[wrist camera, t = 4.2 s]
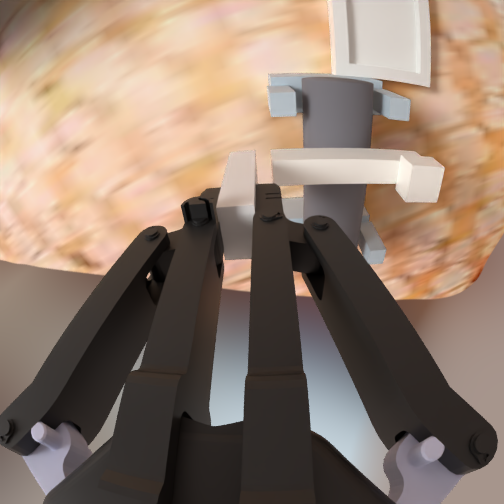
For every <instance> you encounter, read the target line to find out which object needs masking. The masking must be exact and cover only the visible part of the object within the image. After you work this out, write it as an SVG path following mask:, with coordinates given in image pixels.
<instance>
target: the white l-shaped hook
mask: <svg viewBox="0 0 504 504" xmlns="http://www.w3.org/2000/svg"><path fill="white" fill-rule="evenodd" d="M271 165H272V177H273V183H275V184H277V185H278V186H289V185H314V184H396V189H395V190H396V191H397V192H398V193H399V195H400V196H401V197H402V198H403V200H404V201H405V202H436V203H437V200H438V196H439V192H440V188H441V183H442V179H443V174H444V170H445V167H443V166H442V165H441V164H440V163H439V162H437V161H436V160H435V159H434V158H433V157H425V156H420V155H419V154H418V153H416V152H415V151H406V150H391V149H370V148H294V149H271Z"/></svg>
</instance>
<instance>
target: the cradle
mask: <svg viewBox="0 0 504 504" xmlns="http://www.w3.org/2000/svg"><path fill="white" fill-rule="evenodd" d="M268 77H269V86H267V92H268V105H269V110H270V114H271V117H282V116H297V114H296V113H303V105H302V81H301V79H302V78H305V77H338V78H349V79H356V80H362V81H367V82H371V83H373V84H374V89H373V115H381V114H382V115H383V116H385V117H387V118H388V119H393V120H403V121H409V115H410V102H411V100H410V99H408V98H405V97H403V96H400V95H398V94H395V93H393V92H390V91H388V90H384V89H382V81H380V80H376V79H373V78H366V77H355V76H340V75H334V74H320V73H284V74H268ZM282 204H283V211H284V214H285V216H286V218H287V219H289V220H291V221H293V222H297V223H302V224H303V204H304V197H302V198H282ZM369 217H370V215H369V213H368V212H367V210H366V208H365V206H364V208H363V215H362V222H361V228H360V234H359V240H358V244H359V247H360V249H361V251H362V254H363V256H364V258H365V260H366V261H367V262H368V264H381V263H383V261H384V257H385V253H386V248H385V246H384V244H383V242H382V240H381V238H380V236H379V235H378V233H377V231H376V229H375V227H374V225H373V223H372V222H369Z"/></svg>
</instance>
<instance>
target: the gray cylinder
mask: <svg viewBox="0 0 504 504" xmlns="http://www.w3.org/2000/svg"><path fill="white" fill-rule="evenodd" d="M301 81H302V105H303V146H304V148H370V146H371V133H372V116H373V89H374V84H373V83H371V82H367V81H362V80H356V79H349V78H338V77H305V78H302V79H301ZM366 186H367V184H314V185H304V204H303V224H304V221H305V220H306V219H307V218H308V217H311V216H315V215H322V216H327V217H329V218H332V219H333V220H334V221H335V222H336V223H337V224H338V225H339V226H340V228H341V229H342V230H343V231H344V233H345V234H346V235H347V236H348V238H349V239H350V240H351V241H352V243H353V244H354V245H355V247H356V248H357V246H358V240H359V234H360V228H361V222H362V215H363V208H364V201H365V194H366Z"/></svg>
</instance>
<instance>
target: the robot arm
mask: <svg viewBox="0 0 504 504" xmlns="http://www.w3.org/2000/svg"><path fill="white" fill-rule="evenodd" d="M181 208H182V212H183V217H184V221H185V224H184V226H183V228H182V229H180V230H177V231H174V232H170V233H167V230H166V228H165V227H163V226H152V227H148V228H147V229H145V230H143V231H142V232H141V233H140V234H139V235H138V236H137V237H136V238H135V239H134V241H133V242H132V243H131V244H130V245H129V247H128V248H127V249H126V250H125V251H124V253H123V254H122V255H121V256H120V258H119V259H118V260H117V261H116V262H115V264H114V265H113V266H112V267H111V269H110V270H109V271H108V273H107V274H106V275H105V276H104V278H103V279H102V280H101V282H100V283H99V284H98V285H97V287H96V288H95V289H94V291H93V292H92V293H91V295H90V296H89V298H88V299H87V300H86V302H85V303H84V304H83V306H82V307H81V309H80V310H79V311H78V313H77V314H76V316H75V317H74V319H73V320H72V321H71V323H70V324H69V326H68V327H67V328H66V330H65V331H64V333H63V334H62V336H61V337H60V339H59V341H58V342H57V344H56V345H55V346H54V348H53V350H52V351H51V353H50V355H49V356H48V358H47V359H46V361H45V363H44V364H43V366H42V367H41V369H40V371H39V372H38V374H37V376H36V377H35V379H34V381H33V382H32V384H31V385H30V386H28V387H27V388H26V389H25V390H24V391H23V392H22V393H21V394H20V395H19V397H18V398H17V399H15V401H13V403H12V404H11V405H10V406H9V407H8V408H7V409H6V410H5V411H4V412H3V413H2V414H1V415H0V444H1V445H2V446H4V447H5V448H7V449H9V450H11V451H13V452H15V453H17V454H19V455H21V456H22V457H23V458H24V460H25V461H26V464H27V465H28V467H29V469H30V471H31V472H32V474H33V475H34V477H35V479H36V481H37V482H38V484H39V485H40V487H41V488H42V490H43V491H44V493H45V494H46V497H45V499H44V502H43V504H440V503H441V502H442V501H443V500H444V499H445V498H446V496H447V495H448V494H449V493H450V491H451V490H452V489H453V488H454V487H455V485H456V484H457V483H458V481H459V480H460V479H461V478H462V477H463V476H464V475H465V474H467V473H470V472H473V471H475V470H478V469H480V468H482V467H484V466H486V465H487V464H488V463H489V462H490V461H491V460H492V459H493V457H494V455H495V452H496V450H497V443H498V439H497V435H496V431H495V430H494V428H493V427H492V426H491V425H490V424H489V423H488V422H487V421H486V420H485V419H484V418H483V417H482V416H481V415H480V414H479V413H478V412H477V411H475V410H474V409H473V408H472V407H471V406H470V405H469V404H468V403H467V402H466V401H465V400H464V399H462V398H461V397H460V396H459V395H458V394H457V393H456V392H455V391H454V390H453V389H452V388H450V387H449V385H448V383H447V381H446V379H445V378H444V376H443V374H442V373H441V371H440V369H439V367H438V366H437V364H436V363H435V361H434V359H433V358H432V356H431V354H430V353H429V351H428V349H427V348H426V346H425V345H424V343H423V342H422V340H421V338H420V337H419V335H418V334H417V332H416V331H415V329H414V328H413V326H412V325H411V323H410V321H409V320H408V319H407V317H406V315H405V314H404V313H403V311H402V310H401V308H400V307H399V305H398V304H397V302H396V301H395V299H394V298H393V297H392V295H391V294H390V292H389V291H388V290H387V288H386V287H385V285H384V284H383V283H382V281H381V280H380V278H379V277H378V276H377V274H376V273H375V272H374V270H373V269H372V268H371V266H370V265H369V264H368V262H367V261H366V260H365V258H364V257H363V256H362V254H361V253H360V252H359V250H358V249H357V248H356V247H355V245H354V244H353V243H352V241H351V240H350V239H349V238H348V236H347V235H346V234H345V233H344V231H343V230H342V229H341V228H340V226H339V225H338V224H337V223H336V222H335V221H334V220H333V219H332V218H329V217H327V216H322V215H315V216H311V217H308V218H307V219H306V220H305V221H304V224H302V223H297V222H293V221H291V220H289V219H287V218H286V216H285V214H284V211H283V204H282V198H281V191H280V187H279V186H278V185H277V184H275V183H273V184H258V179H257V166H256V153H255V150H251V151H237V152H230V154H229V158H228V162H227V166H226V169H225V173H224V177H223V181H222V185H221V188H209V189H206V190H205V191H204V192H203V193H201V196H198V197H193V198H190V199H188V200H186V201H185V202H183V203H182V205H181ZM223 253H224V256H225V260H235V259H252V261H251V292H250V322H249V324H250V325H249V354H248V374H247V376H246V380H245V395H244V420H243V421H241V422H236V423H232V424H227V425H221V426H211V418H210V412H209V400H210V390H211V380H212V370H213V360H214V350H215V342H216V333H217V323H218V314H219V306H220V298H221V290H222V282H223V274H224V263H223ZM293 271H297V272H301V273H302V277H303V279H304V281H305V283H306V285H307V287H308V289H309V291H310V293H311V295H312V297H313V299H314V301H315V303H316V305H317V307H318V309H319V311H320V313H321V315H322V317H323V319H324V322H325V324H326V326H327V328H328V330H329V331H330V334H331V336H332V338H333V340H334V342H335V344H336V346H337V348H338V350H339V353H340V355H341V357H342V359H343V361H344V363H345V365H346V368H347V370H348V372H349V374H350V376H351V378H352V380H353V383H354V385H355V387H356V389H357V391H358V394H359V396H360V398H361V400H362V402H363V405H364V407H365V409H366V411H367V413H368V416H369V418H370V420H371V423H372V425H373V426H374V428H375V431H376V432H377V434H378V436H379V438H380V439H381V441H382V442H383V444H384V445H385V446H386V448H387V449H388V450H389V451H388V453H387V454H386V456H385V458H384V463H383V467H384V472H385V474H386V476H387V478H388V480H389V483H390V491H389V495H388V496H387V495H385V494H384V493H383V492H382V491H381V490H380V489H379V488H378V487H376V486H375V485H374V484H373V483H372V482H371V481H370V480H369V479H368V478H366V477H365V476H364V475H363V474H362V473H361V472H360V471H359V470H358V469H357V468H356V467H355V466H354V465H352V464H351V463H350V462H349V461H348V460H347V459H346V458H345V457H344V456H343V455H342V454H341V453H340V452H339V451H338V450H337V449H336V448H335V447H334V446H333V445H332V444H331V443H330V442H328V440H326V439H325V438H323V437H322V436H321V435H319V434H317V433H315V432H313V431H311V428H310V413H309V400H308V388H307V379H306V375H305V373H304V371H303V364H302V352H301V341H300V331H299V321H298V312H297V303H296V294H295V285H294V277H293ZM149 272H150V274H151V275H150V277H149V278H148V279H147V278H146V277H147V275H148V273H149ZM146 342H147V344H146ZM145 344H146V348H145V351H144V355H143V359H142V363H141V366H140V368H139V369H138V370H134V371H131V370H132V368H133V366H134V364H135V362H136V360H137V359H138V357H139V355H140V353H141V351H142V349H143V347H144V346H145ZM124 384H125V386H124V390H123V394H122V398H121V403H120V407H119V411H118V415H117V420H116V425H115V429H114V434H113V436H112V437H111V438H110V439H109V440H108V441H107V442H106V443H105V444H103V445H102V446H101V447H100V448H99V449H98V450H97V451H96V452H95V453H94V454H92V452H91V450H90V449H88V445H89V444H90V443H91V442H92V441H93V440H94V438H95V437H96V436H97V434H98V433H99V431H100V430H101V428H102V426H103V425H104V423H105V421H106V419H107V417H108V415H109V413H110V411H111V409H112V407H113V405H114V403H115V401H116V399H117V397H118V395H119V393H120V391H121V389H122V387H123V385H124Z"/></svg>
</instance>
